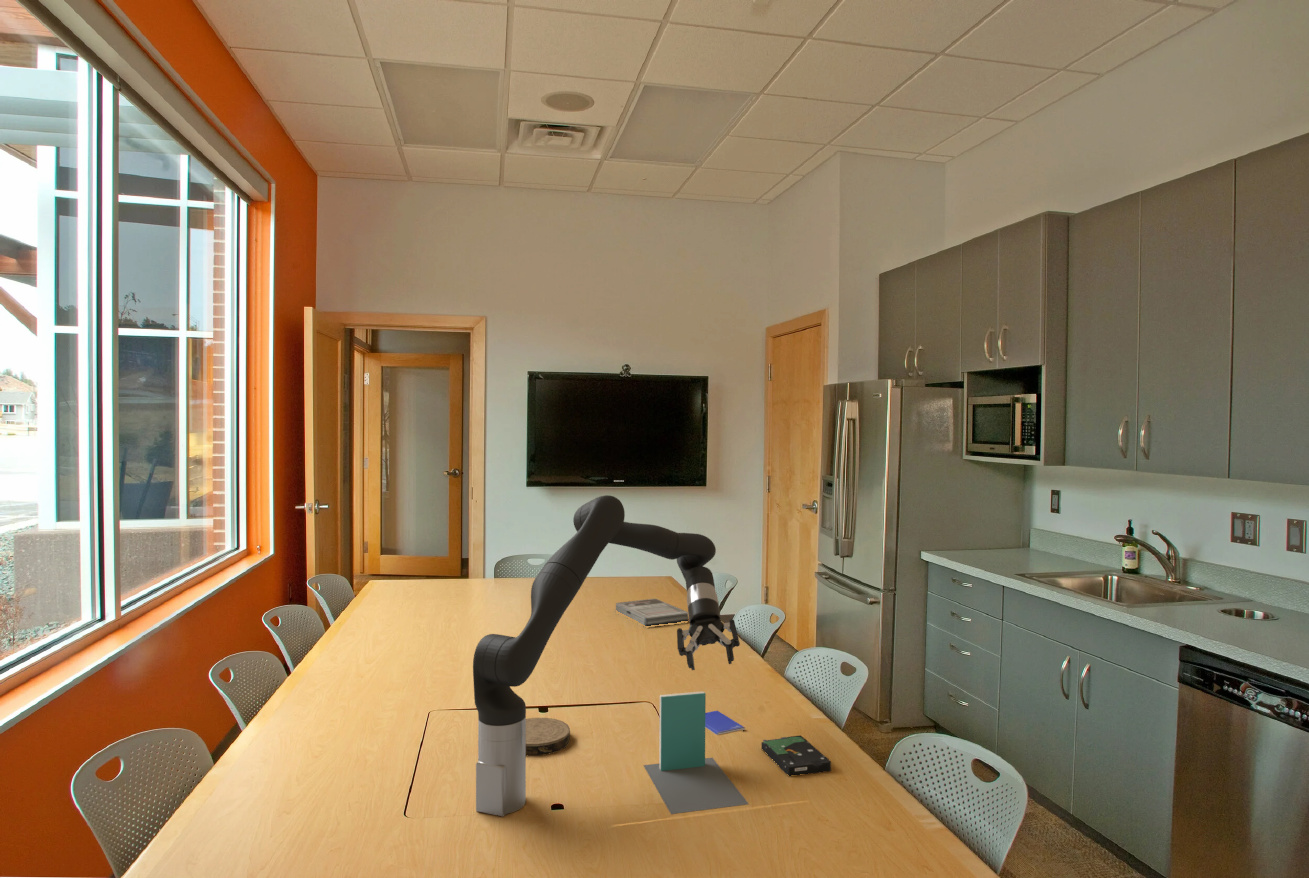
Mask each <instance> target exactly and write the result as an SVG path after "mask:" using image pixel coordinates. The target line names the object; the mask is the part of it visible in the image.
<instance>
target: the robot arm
mask: <svg viewBox="0 0 1309 878" xmlns="http://www.w3.org/2000/svg"><path fill="white" fill-rule="evenodd" d="M574 512H575V513H574V515H573V520H572V521H573V527H574V528H575V530H576V533H575V534H574V535H573V536H572V537H571V538H570V539H568V541H566V542H565V544H563V545H562V546H561V547H560V548H559V549H558V550H556V552H555V553H553V555H552V556H551V557H550V558H549V559H548V560H547V561H546V563H544V565H543V567H542V568H541V569H540V571H539V573H538V574H537V575H536V576H535V578H534V579H533V582H532V585H531V589H530V606H531V609H530V610H531V611H530V612H531V613H530V617H529V619H528V621H527V622H526V625H525V627H524V628H522V630H521V631H520V633H519V634H518V635H517V636H511V635H503V634H498V633H497V634H496V633H489V634H487V635H484V636H483V637H482V638H480V640H479V642H477V645H476V647H475V650H474V654H473V660H472V661H473V662H472V676H473V694H474V697H473V699H474V700H473V701H474V705H475V708H476V710H477V715H478V716H477V717H478V718H477V719H478V723H477V724H478V727H477V729H478V730H477V731H478V735H477V738H478V741H477V743H478V744H477V745H478V747H477V748H478V749H477V750H478V751H477V755H478V756H477V757H478V758H477V759H478V761H477V762H476V763H475V811H476V812H480V813H485V814H488V815H494V816H497V815H498V817H504V816H505V815H508V814H510V813H514V812H517V811H519V810H520V809H522V808H523V807H524V806H525V804H526V799H527V798H526V795H527V794H526V790H527V789H526V788H527V781H526V779H527V777H526V769H527V768H526V767H527V766H526V765H527V764H526V763H527V762H526V719H527V708H526V707H527V706H526V702H525V701H524V699H523V698H522V697H521V696H520V695H518V694H517V693H516V692H515V691H514V690H513V687H514V688H516V687H519V686H521V685H523V684H524V683H525V682H526V681H527V680H528V679H529V678H530V676H531V675H532V673H533V672H534V670H535V668H536V666H537V664H538V662H539V661H540V658H541V656H542V654H543V652H544V650H545V647H546V646H547V644H548V642H549V639H550V638H551V636H552V634H553V632H554V631H555V629H556V627H557V626H558V624H559V622H560V620H561V619H562V617H563V615H564V613H565V612H566V610H567V609H568V607H569V606H570V604H571V603H572V601H573V600H574V599H575V597H576V596H577V594H578V592H579V590H580V589H581V588H582V585H583V583H585V580H586V579H587V577H588V575H590V574H589V573H590V572H591V570H592V569H593V567H594V566H595V564H596V562H597V560H598V559H599V557H600V555H601V554H602V552H603V551H604V550H605V548H606V547H607V546H608V544H612V545H617V546H621V547H622V546H623V547H627V548H633V549H637V550H640V551H643V552H646V553H649V554H653V555H656V556H658V557H661V558H663V559H667V560H676V563H677V565H678V568H679V570H680V573H681V574H682V576H683V579H684V581H685V587H686V605H687V612H688V620H689V627H688V629H682V628H680V627H679V628H677V629H676V636H677V637H676V643H677V646H676V647H677V651H678V654H679V656H681V657H683V656H686V664H687V667H688V669H691V671H695V669H696V668H695V661H694V660H695V659H694V653H695V652H696V651H697V650H698V649H699V648H700V646H702V647H703V646H706V645H714V644H716V643H718V644H719V645H721V646H723V647H725V650H726V652H725V653H726V657H727V662H728V665H733V664H732V662H733V661H735V656H734V648H736V647H739V646H740V645H741V644H740V640H739V639H740V638H739V634H738V629H737V627H736V623H735V620H734V619H733V618H731V619H729V621H728V622H724V623H723V621H722V617H721V612H720V603H719V598H718V593H717V591H716V586H715V580H714V575H713V572H712V570H711V569H710V568H709V567H706V564H708V563H709V562H710V561H711V560H712V559H713V558H714V557H715V555H716V553H717V551H716V550H717V549H716V545H715V543H714V541H712V540H711V539H710V538H709V537H708V536H705V535H703V534H699V533H692V532H691V533H690V532H676V531H674V530H671V529H669V528H666V527H662V526H660V525H655V524H647V523H636V522H635V523H634V522H628V521H625V515H626V514H625V513H626V511H625V508H624V504H623V503H622V502H621V500H620V499H619V498H617V497H616V496H614V495H600V496H597V497H595V498H593V499H591V500H590V501H588V502H586V503H584V504H582V505H581V506H580V507H578V508H577V510H576V511H574ZM725 630H727V632H729V633H731V636H732V639H729V638H728V637H727V636H726V635H725V634H724V631H725ZM688 636H690V640H689V642H688V644H687V645H686V647H685V641H686V640H687V638H688ZM511 687H512V688H511Z"/></svg>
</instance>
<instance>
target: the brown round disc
mask: <svg viewBox="0 0 1309 878" xmlns="http://www.w3.org/2000/svg"><path fill="white" fill-rule="evenodd" d="M570 740H571V728H570V726H569V724H568V723H567V722H565V721H563V720H560V719H557V718H552V717H531V718H529V717H528V718H526V756H527V755H528V757H529V756H533V757H538V756H544V755H543V754H546V755H550V754H554V753H557V752H559V751H561V750H563V749H565V748H566V747H567V746H568V745H569V744H570ZM553 752H554V753H553ZM549 753H550V754H549Z"/></svg>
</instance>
